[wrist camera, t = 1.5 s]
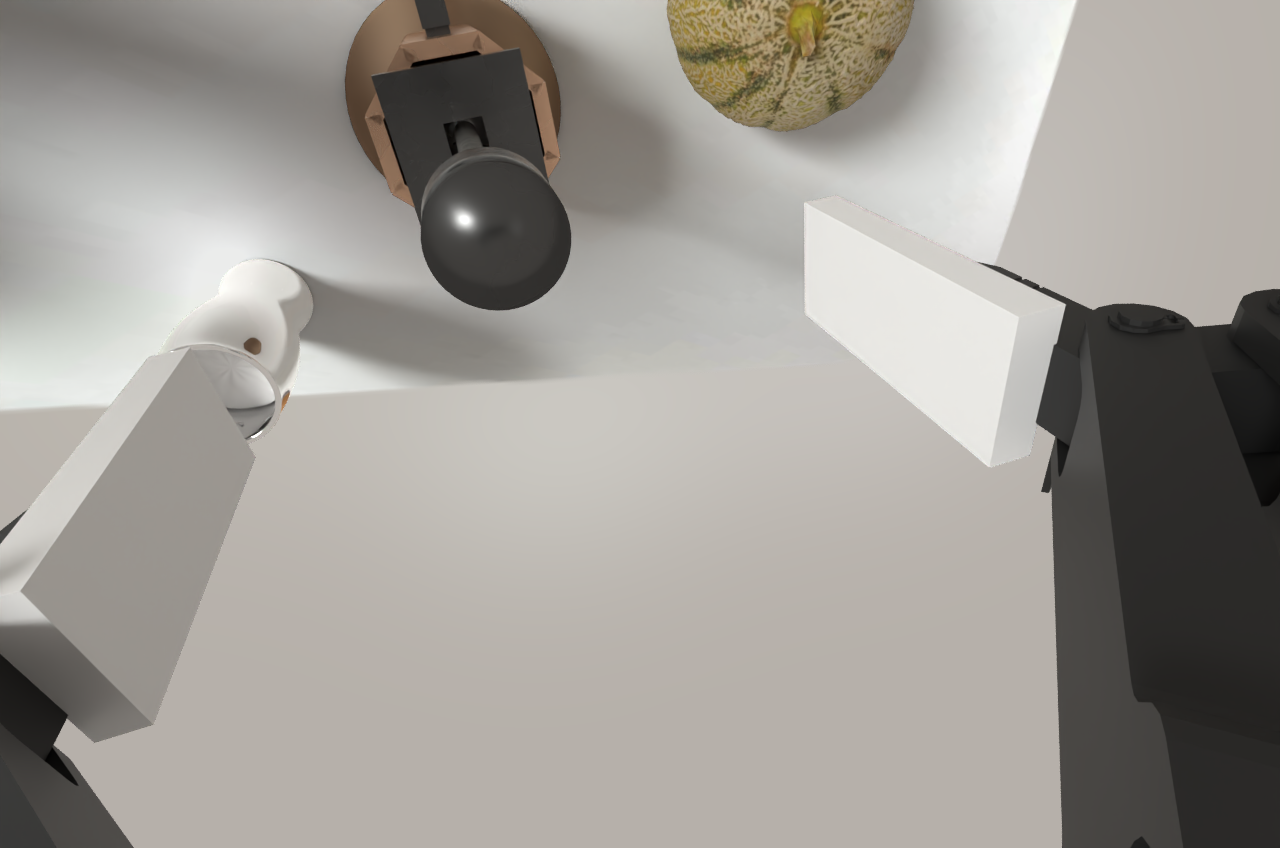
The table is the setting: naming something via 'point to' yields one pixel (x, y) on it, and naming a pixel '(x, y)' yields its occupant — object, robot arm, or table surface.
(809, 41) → the cantaloupe
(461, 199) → the plunger
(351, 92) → the coaster
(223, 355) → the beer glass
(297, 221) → the table surface
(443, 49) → the carafe
